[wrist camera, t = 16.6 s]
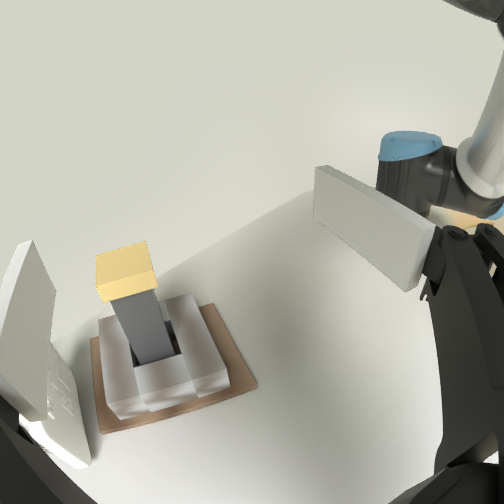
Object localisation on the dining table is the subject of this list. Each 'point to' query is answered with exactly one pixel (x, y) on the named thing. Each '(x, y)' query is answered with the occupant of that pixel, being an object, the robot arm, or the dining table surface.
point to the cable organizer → (61, 417)
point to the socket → (166, 368)
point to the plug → (134, 300)
